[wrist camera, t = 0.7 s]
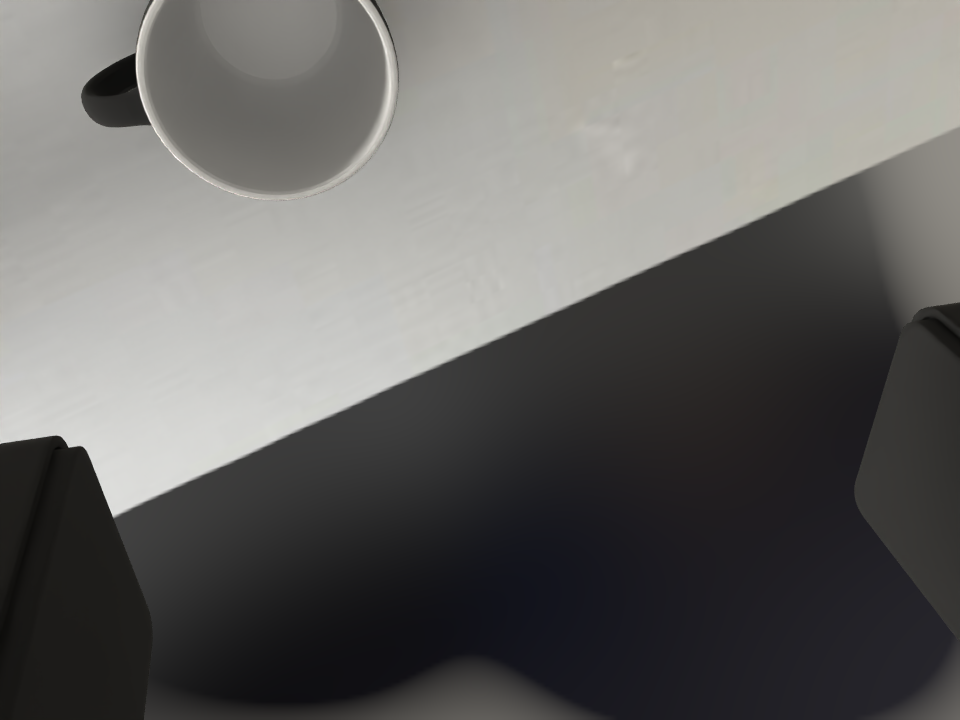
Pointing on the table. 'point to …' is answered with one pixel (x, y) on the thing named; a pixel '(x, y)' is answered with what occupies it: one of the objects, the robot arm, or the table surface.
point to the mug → (257, 90)
